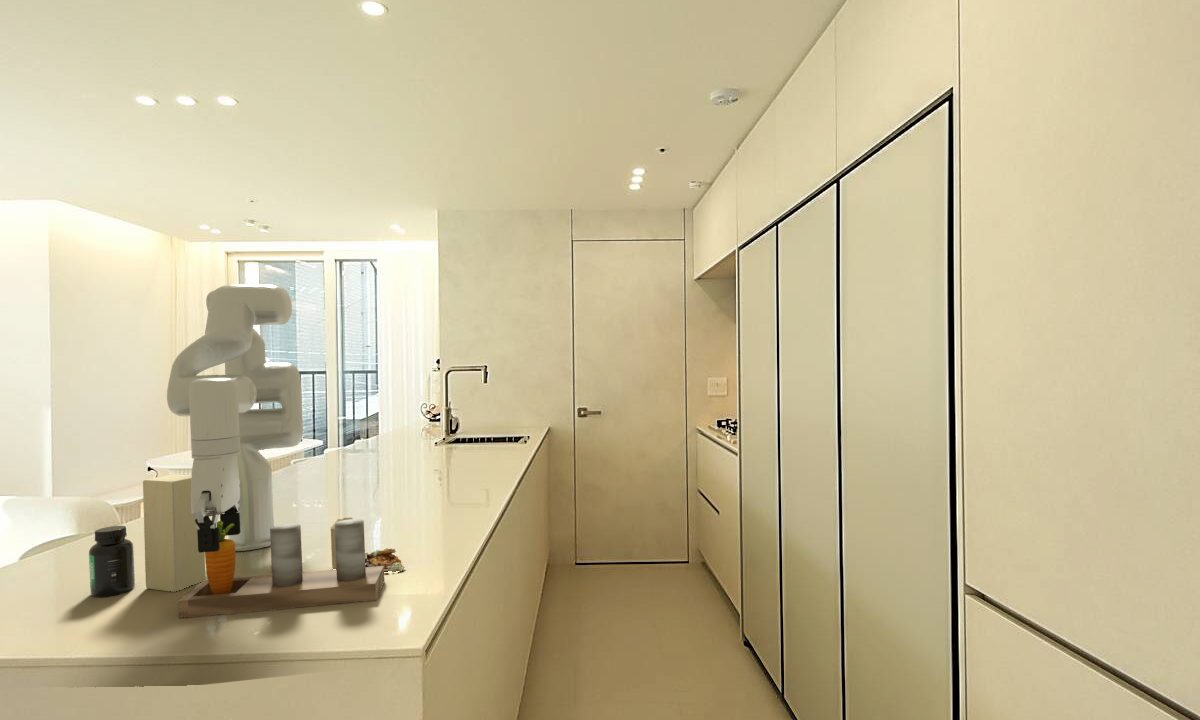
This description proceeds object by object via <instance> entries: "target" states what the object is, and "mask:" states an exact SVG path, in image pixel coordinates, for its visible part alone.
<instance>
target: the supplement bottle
mask: <svg viewBox="0 0 1200 720" xmlns="http://www.w3.org/2000/svg"><path fill="white" fill-rule="evenodd" d="M127 536H128V534H127V527H126V526H125V525H114V526H113V525H112V526H107V527H106V526H105V527H102V528H98V529H96V530H94V542H96V543H95V544H93V545H92V546H91V547H90V548H89V550H88V563H89V587H90V589H89V590H90V595H91V596H92V597H94V598H95V597H96V598H106V597H107V598H108V597H113V596H117V595H122V594H124V593H127V592H130V591H131V590H133V589H134V587H135V585H136V584H135V583H136V582H135V580H136V579H135V557H134V555H135V553H134V543H133V542H132V541H131V540H130V539H127V538H126V537H127Z"/></svg>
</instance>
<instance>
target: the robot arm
mask: <svg viewBox="0 0 1200 720" xmlns="http://www.w3.org/2000/svg"><path fill="white" fill-rule="evenodd" d="M205 302H206V309H207V317H206V318H207V319H206V324H205V330H204V335H202V336H201V337H199V338H197V339H196V340H194V341H192V342H191V343H190V344H189V345H188V346H186V347H185V348H184V349H183V350H182V351H181V352H180V353H179V354H178V355H177V356H176V358H175V359H174V360H173V363H172V365H171V370H170V374H169V378H168V384H167V389H166V401H167V406H168V408H169V410H170V411H171V413H173V414H174V415H176V416H179V417H184V418H185V417H188V418H189V425H190V447H191V448H190V449H191V459H193V461H192V467H191V468H192V469H191V475H192V478H191V513H192V515H194V516H195V517H196V518H195V519H196V520H195V522H196V524H197V525H196V529H197V535H198V551H199V552H200V553H202V552H215V551H218V550H219V549H220V543H219V527H217V522H218V521H222V522H223V526H222V530H225V529H226V528H227V526H229V525H230V524H232V523H233V524H234V526H233V527H232V528H230V530H229V531H228V532H227V533H226V536H228V538H227V539H230V540H233V541H234V542H235V552H245V551H251V550H259V549H263V548H266V547H267V548H268V547H271V542H270V528H272V527H274V526H275V520H274V499H273V498H274V497H273V496H274V495H273V471H272V466H271V464H270V462H269V461H268V460H267V459H266V458H265V456H263V454H261V453H260V452H259V451H261V450H262V451H263V450H272V449H281V448H282V449H284V448H285V449H286V448H292V447H295V446H296V447H297V446H298V445H299V444H300V443H302V440H303V434H304V421H303V420H304V419H303V399H302V398H303V396H302V381H301V376H300V372H299V369H298V368H297V366H296V364H295V365H294V364H293V363H290V362H285V361H284V362H282V361H281V362H267V360H266V343H265V341H264V339H263V338H262V336H261V335H260V334H259V332H258V331H256V329H254V326H258V325H259V326H263V325H264V326H267V325H272V326H275V325H285V324H287V323H288V322H289V321H290V320H291V315H292V311H293V305H292V298H291V296H290V294H289V292H288V291H287V289H285V288H283V287H281V286H278V285H274V284H240V283H239V284H227V285H222V286H220V287H218V288H216V289H213V290H211V291H210V292H209V293H208V294H207V296H206V299H205ZM222 364H224V374H205V375H203V374H201V375H198V374H200V373H202V372H204V371H205V370H206V371H207V370H208V369H210V368H213V367H216V366H219V365H222ZM270 403H271V404H272V403H277V404H279V405H280V406H281V407H276V408H275V407H274V408H256V409H254V408H253V406H254V405H255V404H270ZM252 408H253V409H252ZM210 517H211V518H210ZM226 536H225V537H226Z"/></svg>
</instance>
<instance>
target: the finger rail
mask: <svg viewBox="0 0 1200 720" xmlns="http://www.w3.org/2000/svg"><path fill="white" fill-rule="evenodd" d="M334 523H335V522H334ZM301 529H302V527H301V524H300V523H296V522H295V523H283V524H278V525H274V527H272V528H270V542H271V546H270V558H271V559H270V563H271V564H270V565H271V574H270V575H269V574H267V575H256V576H245V577H234V578H233V584H232V588H231V591H230V594H218V595H213V593H212V591H211V588H210V585H209V581H208V579H207V580H206V579H205V581H202V582H201V583H198V584H196V585H195V587H194V588H192V589H191V590H190V591H188V592H187V593H186V594H184V596H182V597H181V598H180V599H179V600H177V603H178V604H177V606H178V619H186V618H185V617H189V618H196V617H195V616H200V617H207V616H206V615H211V616H218V615H217V614H222V615H230V614H231V613H232V614H242V613H243V612H244V613H252V612H251V611H255V612H264V610H266V611H275V609H277V610H284V608H285V609H286V608H287V609H293V608H292V607H298V608H305V607H304V606H309V607H315V606H314V605H320V606H329V605H328V604H331V605H338V604H337V603H342V604H346V603H345V602H353V603H359V602H358V601H364V602H373V601H372V600H375V601H377V599H378V597H377V596H379V595H380V592H381V590H382V588H381V586H382V587H383V585H384V583H385V574H384V566H374V567H368V566H366V563H365V553H366V543H365V539H366V538H365V520H363V519H360V518H352V519H349V520H343V521H339V522H337V523H335V545H336V570H333V569H327V570H317V571H316V570H314V571H303V555H302V553H303V551H302V530H301ZM383 582H384V583H383ZM382 584H383V585H382ZM380 589H381V590H380ZM379 591H380V592H379ZM378 594H379V595H378ZM370 600H371V601H370ZM326 604H327V605H326ZM302 606H303V607H302ZM287 609H286V610H287ZM241 612H242V613H241ZM244 613H243V614H244ZM232 614H231V615H232ZM183 617H184V618H183Z"/></svg>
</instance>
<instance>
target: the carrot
mask: <svg viewBox="0 0 1200 720" xmlns="http://www.w3.org/2000/svg"><path fill="white" fill-rule="evenodd" d="M222 526H223V522H222V521H220V520H218V521H217V525H216V527H219V543H220V549H219V550H218V551H215V552H205V572H206V577H207V580H208V581H209V585H210V588H211V591H212V593H213V595H218V594H230V591H231V588H232V584H233V578H235V570H236V551H235V542H234V541H233V540H230V539H228V538H226V533H227V532H228V531H229V530H230V528H232V527H233V526H234V524H233V523H232V524H230V525H229V526H227V528H226V529H225V530H222Z"/></svg>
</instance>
